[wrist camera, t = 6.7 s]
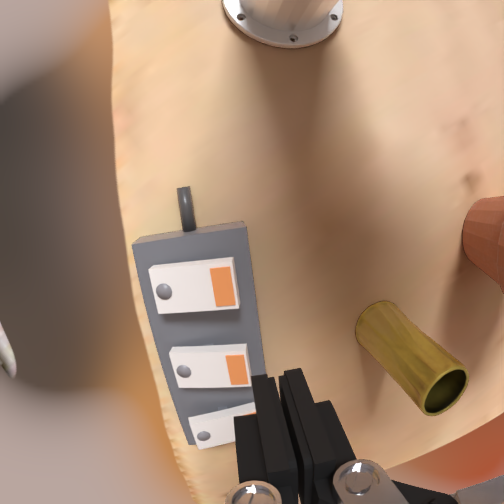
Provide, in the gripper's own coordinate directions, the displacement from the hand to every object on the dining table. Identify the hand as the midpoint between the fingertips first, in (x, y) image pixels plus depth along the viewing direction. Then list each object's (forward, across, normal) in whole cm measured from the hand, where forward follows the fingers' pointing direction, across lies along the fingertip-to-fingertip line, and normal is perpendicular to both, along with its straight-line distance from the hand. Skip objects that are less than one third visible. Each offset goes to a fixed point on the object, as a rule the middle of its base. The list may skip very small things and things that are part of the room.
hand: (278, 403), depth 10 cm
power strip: (+22, +4, +8) cm, 24 cm away
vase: (+22, -15, +12) cm, 29 cm away
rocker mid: (+16, +4, +10) cm, 20 cm away
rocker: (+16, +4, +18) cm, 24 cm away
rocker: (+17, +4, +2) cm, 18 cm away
